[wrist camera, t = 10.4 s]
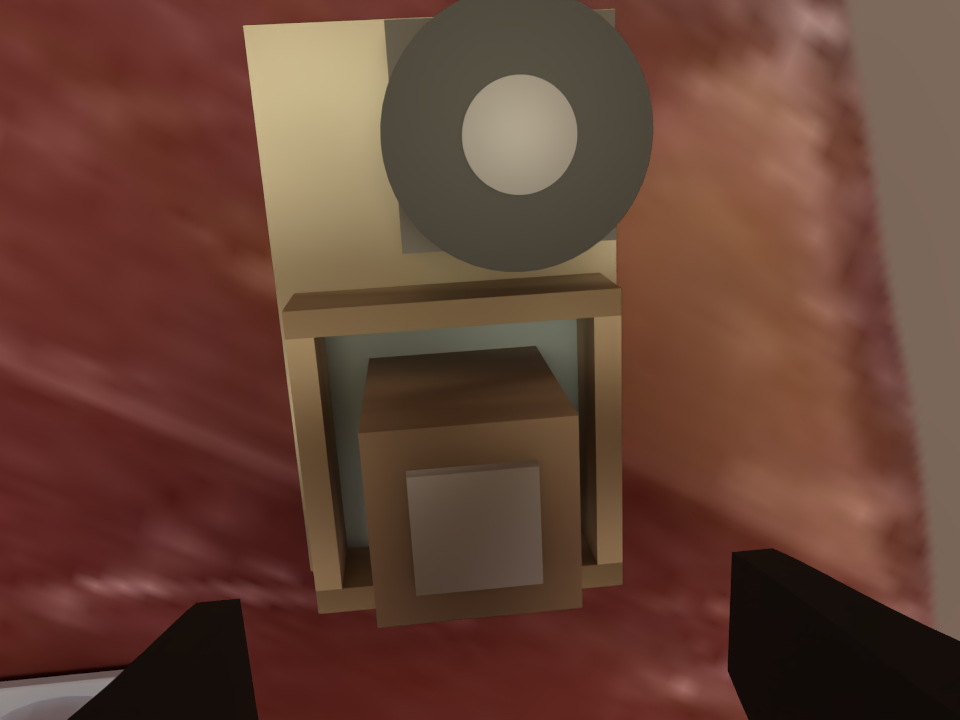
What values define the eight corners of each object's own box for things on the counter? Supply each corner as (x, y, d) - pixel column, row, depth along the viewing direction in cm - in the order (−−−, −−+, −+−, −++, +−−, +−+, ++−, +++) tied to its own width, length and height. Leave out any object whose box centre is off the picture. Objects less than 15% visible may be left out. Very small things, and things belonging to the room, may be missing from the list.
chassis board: (607, 521, 23) (643, 591, 19) (315, 548, 22) (298, 625, 19) (601, 15, 19) (645, -9, 16) (253, 32, 18) (218, 9, 15)
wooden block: (536, 345, 20) (581, 420, 15) (540, 497, 21) (586, 616, 16) (369, 357, 19) (357, 439, 14) (383, 511, 20) (377, 637, 15)
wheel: (604, 237, 19) (655, 264, 15) (394, 250, 18) (391, 283, 15) (601, 11, 17) (658, -22, 14) (375, 22, 17) (367, -10, 13)
